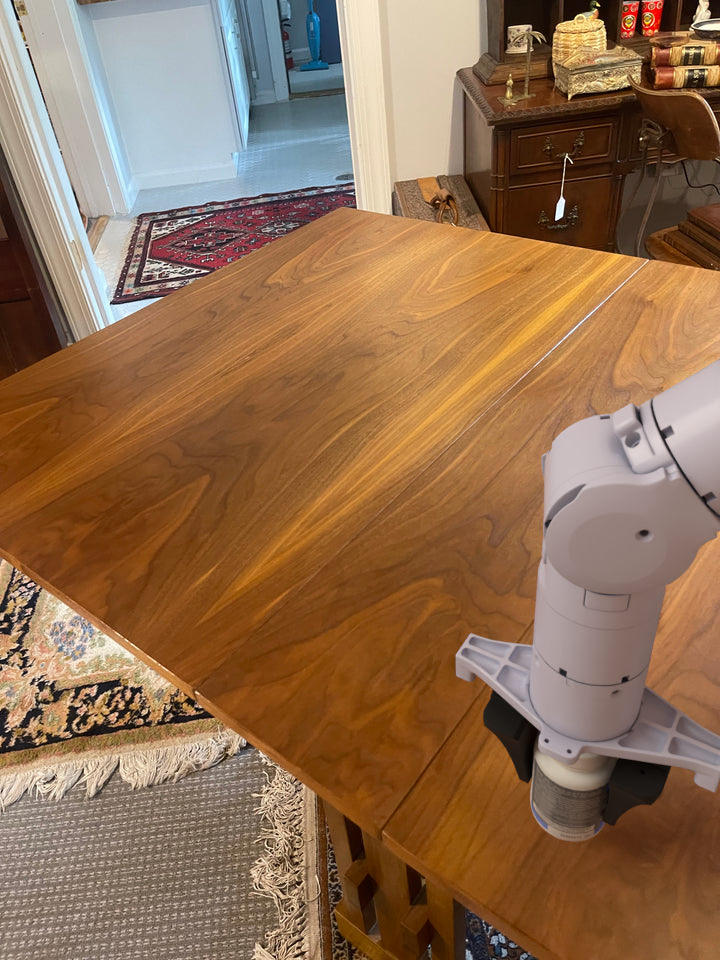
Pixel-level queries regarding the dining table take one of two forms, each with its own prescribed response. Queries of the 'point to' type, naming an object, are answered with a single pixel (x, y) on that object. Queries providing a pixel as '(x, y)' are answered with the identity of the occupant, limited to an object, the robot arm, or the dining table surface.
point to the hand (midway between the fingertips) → (569, 788)
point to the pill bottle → (570, 794)
